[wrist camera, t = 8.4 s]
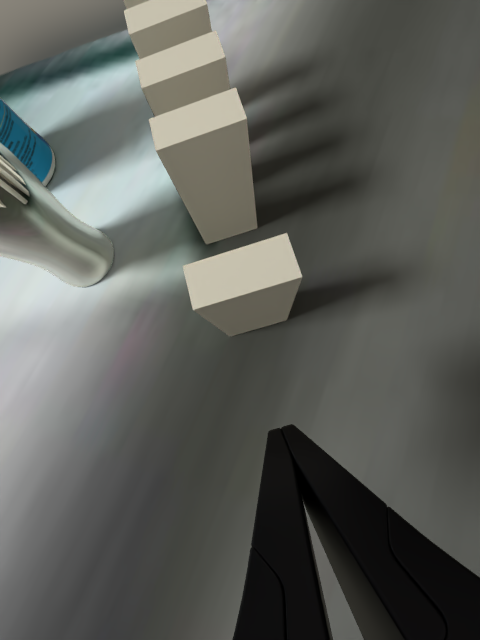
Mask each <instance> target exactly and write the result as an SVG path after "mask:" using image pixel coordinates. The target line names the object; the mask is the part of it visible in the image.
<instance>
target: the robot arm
mask: <svg viewBox="0 0 480 640" xmlns="http://www.w3.org/2000/svg"><path fill="white" fill-rule="evenodd" d="M302 499H303V500H302ZM303 502H304V504H303ZM304 505H305V507H306V510H307V512H308V514H309V517H310V519H311V521H312V523H313V526H314V528H315V530H316V532H317V535H318V537H319V539H320V541H321V544H322V546H323V548H324V550H325V553H326V555H327V557H328V559H329V562H330V564H331V566H332V568H333V571H334V573H335V575H336V577H337V580H338V582H339V584H340V586H341V589H342V591H343V593H344V595H345V598H346V600H347V602H348V604H349V607H350V609H351V611H352V613H353V616H354V618H355V620H356V622H357V625H358V627H359V629H360V631H361V634H362V636H363V638H364V640H480V577H478V576H477V575H476V574H474V573H473V572H471V571H470V570H469V569H467V568H466V567H465V566H463V565H462V564H460V563H459V562H458V561H457V560H455V559H454V558H453V557H451V556H450V555H449V554H447V553H446V552H445V551H443V550H442V549H441V548H439V547H438V546H437V545H435V544H434V543H433V542H431V541H430V540H429V539H428V538H426V537H425V536H424V535H423V534H421V533H420V532H419V531H418V530H417V529H415V528H414V527H413V526H412V525H410V524H409V523H408V522H407V521H406V520H404V519H403V518H402V517H401V516H400V515H399V514H397V513H396V512H395V511H394V510H393V509H392V508H390V507H387V505H386V503H384V502H383V501H382V500H381V499H380V498H379V497H377V496H376V495H375V494H374V493H373V492H371V491H370V490H369V489H368V488H367V487H366V486H364V485H363V484H362V483H361V482H360V481H359V480H357V479H356V478H355V477H354V476H353V475H352V474H350V473H349V472H348V471H347V470H346V469H345V468H343V467H342V466H341V465H340V464H339V463H338V462H336V461H335V460H334V459H333V458H332V457H331V456H329V455H328V454H327V453H326V452H325V451H324V450H322V449H321V448H320V447H319V446H318V445H317V444H315V443H314V442H313V441H312V440H311V439H310V438H308V437H307V436H306V435H305V434H304V433H303V432H301V431H300V430H299V429H298V428H297V427H296V426H294V425H292V424H291V425H287V426H284V427H282V428H281V429H280V428H277V429H273V430H270V431H269V432H268V437H267V444H266V451H265V457H264V464H263V471H262V477H261V484H260V490H259V497H258V504H257V510H256V517H255V523H254V530H253V537H252V543H251V545H252V548H251V549H250V555H249V562H248V568H247V574H246V580H245V585H244V591H243V596H242V601H241V606H240V610H239V614H238V619H237V623H236V628H235V632H234V637H233V640H333V637H332V632H331V628H330V623H329V618H328V614H327V609H326V605H325V600H324V595H323V591H322V586H321V582H320V577H319V572H318V568H317V563H316V559H315V554H314V549H313V545H312V540H311V536H310V531H309V526H308V522H307V517H306V513H305V508H304Z"/></svg>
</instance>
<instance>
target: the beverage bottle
mask: <svg viewBox="0 0 480 640" xmlns="http://www.w3.org/2000/svg"><path fill="white" fill-rule="evenodd" d="M0 142H1V143H2V144H3V145H4V146H6V147H7V148H8V149H9V150H10V151H11V152H12V153H13V154H14V155H15V156H16V157H17V158H18V159H19V160H20V161H21V162H22V163H23V164H24V165H25V166H26V167H27V168H28V169H29V170H30V171H31V172H32V173H33V174H34V175H35V176H36V177H37V178H38V179H39V180H40V181H41V182H42V183H43V185H44V186H46V185H47V184H48V182H49V181H50V179H51V177H52V175H53V172H54V169H55V156H54V153H53V150H52V149H51V147H50V145H49V144H48V143H47V142H46V141H45V140H44V139H43V138H42V137H41V136H40V135H39V134H38V133H36V132H35V131H34V130H33V129H32V128H31V127H29V126H28V125H27V124H26V123H25V122H24V121H23V120H22V119H21V118H20V117H19V116H18V115H17V114H16V113H15V112H14V111H13V110H12V109H11V108H10V107H9V106H8V105H7V104H6V103H5V102H4V101H3V100H2V99H1V98H0Z"/></svg>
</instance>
